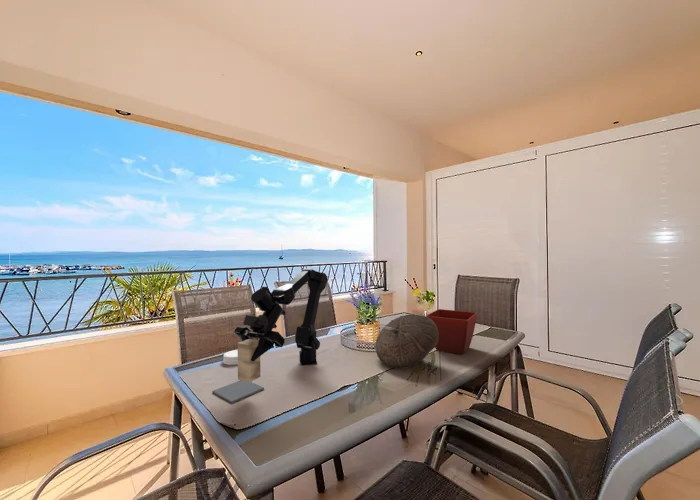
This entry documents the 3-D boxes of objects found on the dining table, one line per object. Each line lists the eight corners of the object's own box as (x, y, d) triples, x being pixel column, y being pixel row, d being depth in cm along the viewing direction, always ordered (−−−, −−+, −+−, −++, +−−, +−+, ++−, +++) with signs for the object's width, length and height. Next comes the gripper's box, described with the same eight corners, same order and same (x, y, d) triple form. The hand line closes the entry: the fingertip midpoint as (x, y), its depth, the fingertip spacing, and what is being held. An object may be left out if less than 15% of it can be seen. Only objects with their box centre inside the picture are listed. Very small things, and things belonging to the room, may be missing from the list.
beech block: (249, 374, 102) (249, 338, 102) (260, 376, 100) (260, 340, 100) (237, 379, 98) (237, 342, 98) (249, 382, 95) (248, 345, 95)
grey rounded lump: (357, 362, 129) (366, 307, 139) (398, 373, 139) (404, 320, 149) (399, 365, 106) (406, 298, 117) (445, 377, 116) (448, 314, 126)
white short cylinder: (239, 366, 125) (239, 357, 125) (218, 364, 127) (218, 356, 127) (252, 357, 135) (252, 350, 135) (232, 356, 137) (232, 348, 137)
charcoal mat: (244, 380, 111) (244, 378, 111) (264, 389, 103) (264, 387, 103) (212, 392, 101) (212, 390, 101) (231, 403, 94) (231, 401, 94)
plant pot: (425, 350, 142) (425, 315, 142) (439, 340, 158) (438, 308, 158) (468, 358, 131) (467, 320, 131) (477, 346, 147) (477, 312, 147)
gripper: (237, 303, 106) (211, 343, 97) (278, 307, 98) (253, 351, 88) (254, 320, 113) (231, 359, 104) (294, 326, 105) (272, 368, 95)
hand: (245, 359), depth 97 cm, fingers closed on beech block, 5 cm apart
